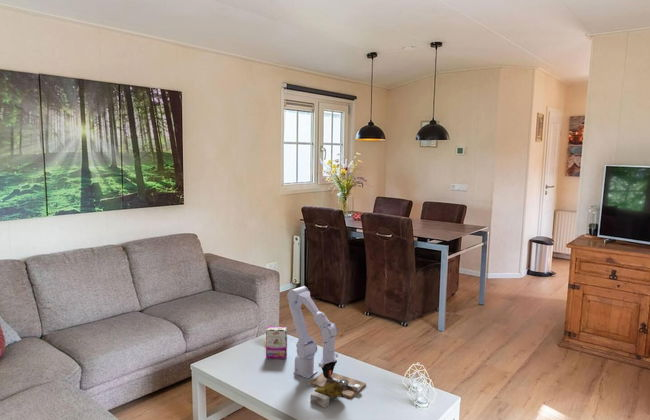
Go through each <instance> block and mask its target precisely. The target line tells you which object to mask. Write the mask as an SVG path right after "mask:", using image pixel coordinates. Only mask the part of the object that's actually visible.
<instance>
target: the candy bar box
mask: <svg viewBox="0 0 650 420" xmlns="http://www.w3.org/2000/svg"><path fill="white" fill-rule="evenodd" d="M265 335H266V336H265V351H266V352H265V359H273V360H274V359H275V360H276V359H277V360H280V359H281V360H286V359H287V356H288V327H285V326H267V327H266V330H265Z"/></svg>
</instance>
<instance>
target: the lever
mask: <svg viewBox="0 0 650 420" xmlns="http://www.w3.org/2000/svg"><path fill="white" fill-rule="evenodd" d="M326 379H327V381H328V382H331V383H334V382H337V383H340V384H341V385H342V386H343V388H349V389H352V390H354V391H357V392H358V391H359V390H360V388H361V385H358V384H355V385H353V384H350V383H349V381H348V380H346V379H342V380H338V379H335V378H332V377H331V369H330V371H329V377H328V378H326ZM360 391H361V390H360ZM360 391H359V392H360ZM359 392H358V393H359Z"/></svg>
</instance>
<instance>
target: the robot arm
mask: <svg viewBox="0 0 650 420" xmlns="http://www.w3.org/2000/svg"><path fill="white" fill-rule="evenodd" d="M286 298H287V301H288V306H289V310H290V314H291V317H292V320H293V324H294V327H295V331H296V335H297V339H298V341H296V344H295V346H296V356H295V357H294V368H293V369H294V370H293V374H295V375H298V376H301V377H304V378H306V379H310V378H311V377H312V376H314V375H315V374H317V373H318V371H317V370H316V369H314V368H315V367H314V366H315V355H316V353H317V352H318V345H317V344H316V342H315V340H314V338H313V337H312V336H310V335H309V331H308V327H307V325H306V321H305V318H304V314H303V310H302V307H301V306H302V305H305V308H307V310H309V312H310V313H311V314H312V315H313V321H314V322H315V324H316V325H317V326H318V327H319V329H320V334H321V336H322V337H321V338H322V358H321V359H320V361H319V362H318V367H319V368H321V370H322V373H323V375H324V377H325V378H328V377H329V371H330V369H331V375H332V373H334V369H335V366H336V365H337V362H338V361H337V358H338V357H339V353H338V352H335V350H336V336H337V335H338V332H339V330H338V329H339V328H338V327H337V325H336V324H335V323H333V322H331V321H330V320H329V318H328V317H327V316H326V314H325V313H324V311H320V310H319V308H318V306H317V305H316V304H315V302H314V301H313V299H312V296H311V292H310V290H309V289H308V287H307V286H305V285H302V286H299V287H296V288H292V289H289V290H288V292H287V294H286Z"/></svg>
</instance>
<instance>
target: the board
mask: <svg viewBox="0 0 650 420" xmlns="http://www.w3.org/2000/svg"><path fill="white" fill-rule="evenodd" d="M331 377H332V378H335V379H338V380H342V379H346V380H348V381H349V383H350V384H353V385H355V384H358V385H361V388H360V390H359V391H358V392H357V391H354V390H352V389H349V388H343V392H342V394H341V396H342V397H345V398H346V399H350V400H351V399H353V397H354V396H356V395H357V394H359V392H361V391H362V390H363V389H364V388H365V387H366V386H367V383H366V382H363V381H361V380H357V379H355V378H351V377H349V376H345V375H342V374H340V373H335V372H333V373H332V375H331ZM330 383H331V382H328V381H327V379H326V378H325V377H324V375H323V372H321V373H320V374H318V375H317V376H316V377H314V378H313V379H311V380H310V381H309V383H308V384H309V385H310V386H313V387H315V388H319V387H322V386H326V385H328V384H330ZM309 399H310V404H314V405H317V406H319V407H322V408H324V409H327V407H329V406H330V398H329V396H326V395H323V394H320V393H318V392H315V390H314V391H313V392H311V393H310V398H309Z"/></svg>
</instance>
